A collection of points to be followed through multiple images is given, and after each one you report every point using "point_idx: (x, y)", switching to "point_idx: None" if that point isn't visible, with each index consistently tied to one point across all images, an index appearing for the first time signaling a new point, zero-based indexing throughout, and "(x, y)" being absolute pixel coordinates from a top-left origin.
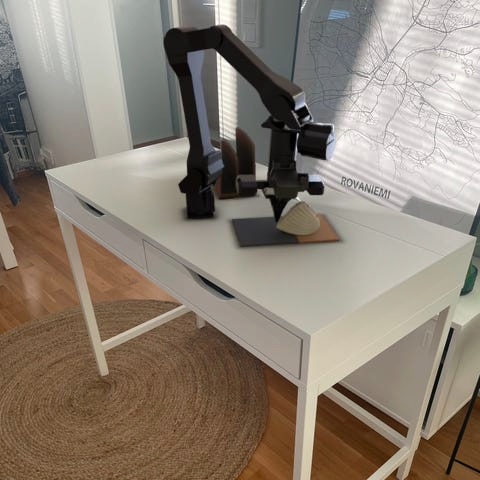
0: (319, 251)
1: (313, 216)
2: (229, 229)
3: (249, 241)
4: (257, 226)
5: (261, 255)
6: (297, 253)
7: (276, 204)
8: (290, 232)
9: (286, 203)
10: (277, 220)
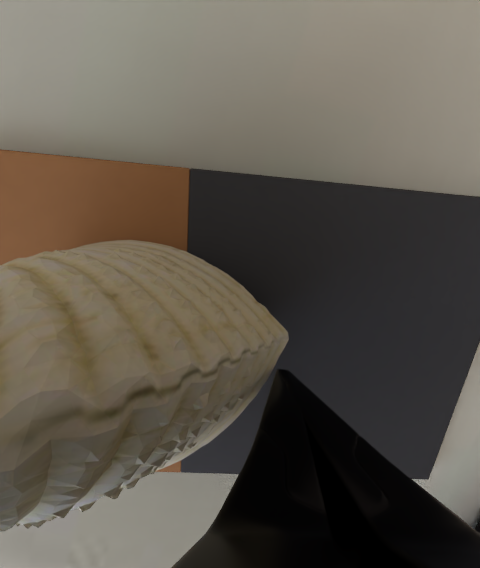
0: (89, 9)
1: None
2: (472, 399)
3: (465, 236)
4: (352, 394)
5: (465, 55)
6: (243, 20)
7: (378, 494)
8: (217, 270)
9: (238, 499)
10: (282, 374)
